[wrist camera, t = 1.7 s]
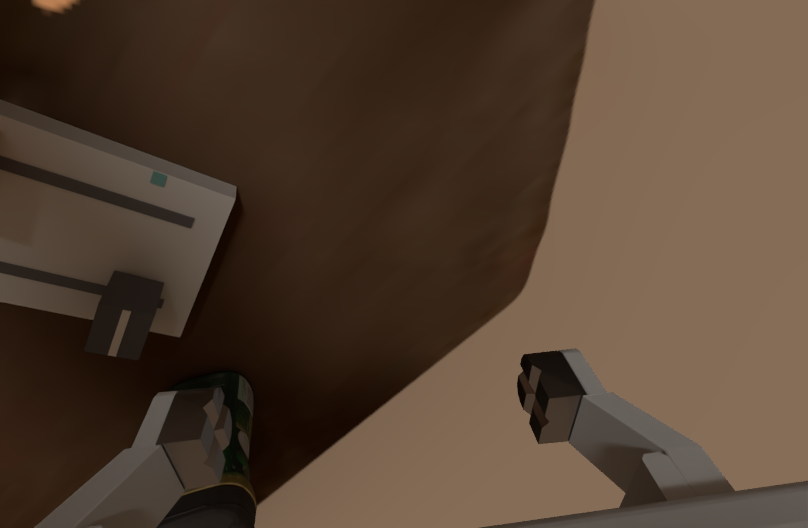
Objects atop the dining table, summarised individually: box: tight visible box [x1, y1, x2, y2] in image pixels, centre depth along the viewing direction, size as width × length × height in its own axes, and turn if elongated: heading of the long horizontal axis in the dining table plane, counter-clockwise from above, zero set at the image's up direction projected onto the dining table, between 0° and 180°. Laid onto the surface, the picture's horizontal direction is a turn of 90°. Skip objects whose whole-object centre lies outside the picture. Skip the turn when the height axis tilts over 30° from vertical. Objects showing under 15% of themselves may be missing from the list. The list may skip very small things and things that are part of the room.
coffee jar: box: [156, 371, 257, 528], centre depth 45 cm, size 10×8×19 cm
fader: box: [84, 270, 164, 360], centre depth 38 cm, size 4×5×5 cm
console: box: [0, 99, 236, 337], centre depth 37 cm, size 24×16×3 cm, turn 60°
